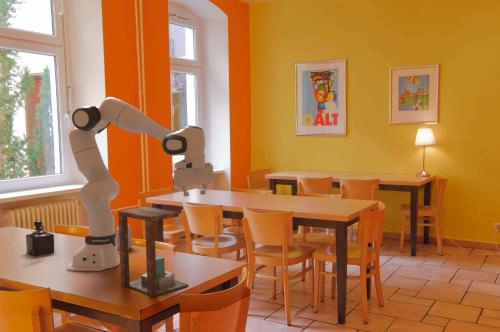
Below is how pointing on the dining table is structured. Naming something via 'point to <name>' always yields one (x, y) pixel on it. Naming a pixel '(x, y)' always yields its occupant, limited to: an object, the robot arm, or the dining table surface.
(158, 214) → the open wooden frame
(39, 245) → the black block with knob
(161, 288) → the socket
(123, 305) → the dining table surface
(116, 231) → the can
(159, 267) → the post
